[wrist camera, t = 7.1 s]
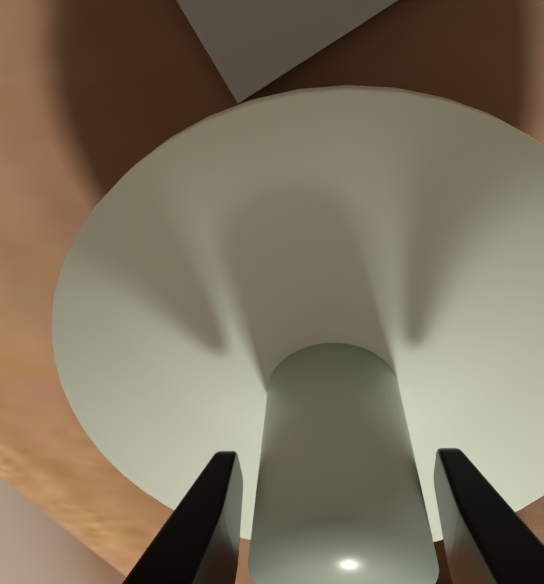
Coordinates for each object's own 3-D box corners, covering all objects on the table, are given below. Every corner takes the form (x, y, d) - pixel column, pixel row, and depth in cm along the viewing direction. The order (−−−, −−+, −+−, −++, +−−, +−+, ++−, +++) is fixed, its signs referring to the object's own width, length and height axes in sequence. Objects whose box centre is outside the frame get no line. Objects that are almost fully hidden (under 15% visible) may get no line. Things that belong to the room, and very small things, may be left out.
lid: (524, -98, 7) (848, -242, 3) (673, 451, 12) (854, 678, 8) (-48, 282, 11) (-259, 448, 7) (251, 563, 16) (231, 748, 12)
